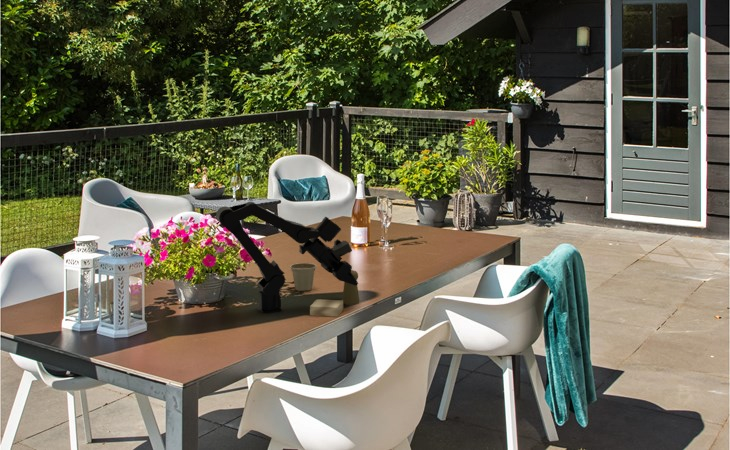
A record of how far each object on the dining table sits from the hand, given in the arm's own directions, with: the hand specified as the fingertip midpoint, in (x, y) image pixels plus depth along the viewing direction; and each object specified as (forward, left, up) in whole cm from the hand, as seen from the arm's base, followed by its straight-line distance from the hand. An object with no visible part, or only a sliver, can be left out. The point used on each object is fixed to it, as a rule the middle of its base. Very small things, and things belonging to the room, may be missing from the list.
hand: (353, 281), depth 323 cm
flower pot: (-9, +24, -7) cm, 27 cm away
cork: (-1, 0, -7) cm, 7 cm away
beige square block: (-13, -8, -7) cm, 17 cm away
